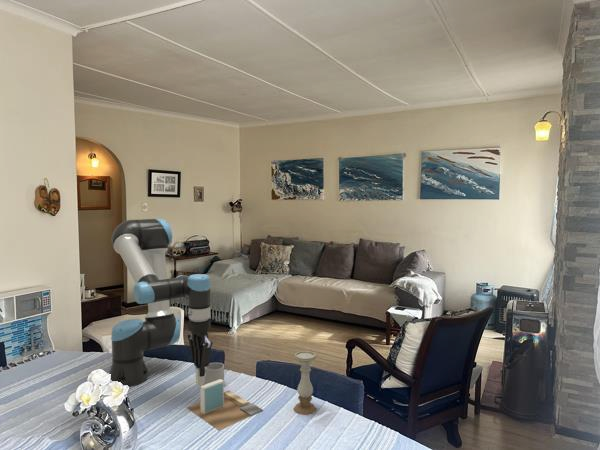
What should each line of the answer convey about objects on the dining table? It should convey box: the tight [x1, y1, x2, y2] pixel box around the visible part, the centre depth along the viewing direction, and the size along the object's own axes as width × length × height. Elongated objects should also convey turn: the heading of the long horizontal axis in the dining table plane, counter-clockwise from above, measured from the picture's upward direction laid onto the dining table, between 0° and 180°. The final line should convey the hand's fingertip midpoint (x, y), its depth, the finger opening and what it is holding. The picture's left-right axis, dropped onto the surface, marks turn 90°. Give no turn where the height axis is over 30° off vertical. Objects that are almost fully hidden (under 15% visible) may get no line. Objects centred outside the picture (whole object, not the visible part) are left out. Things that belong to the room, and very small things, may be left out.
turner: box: [224, 389, 264, 417], centre depth 150 cm, size 18×5×2 cm, turn 44°
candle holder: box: [293, 350, 318, 416], centre depth 146 cm, size 9×9×20 cm
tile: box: [199, 379, 225, 414], centre depth 146 cm, size 2×8×9 cm, turn 134°
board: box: [186, 397, 265, 431], centre depth 146 cm, size 20×18×1 cm
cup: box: [204, 362, 225, 385], centre depth 164 cm, size 7×10×9 cm
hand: (200, 384), depth 151 cm, fingers closed
